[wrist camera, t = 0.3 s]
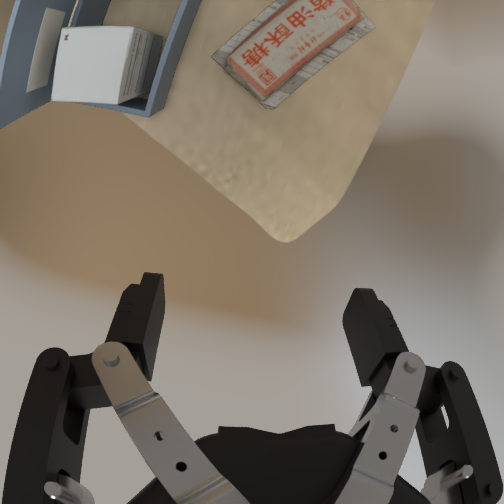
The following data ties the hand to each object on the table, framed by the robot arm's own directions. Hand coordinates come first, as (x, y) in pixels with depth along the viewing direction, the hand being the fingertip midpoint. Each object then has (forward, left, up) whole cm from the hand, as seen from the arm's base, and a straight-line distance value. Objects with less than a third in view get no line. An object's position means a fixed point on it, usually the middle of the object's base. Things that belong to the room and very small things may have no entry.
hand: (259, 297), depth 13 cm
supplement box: (-6, -16, -29) cm, 34 cm away
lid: (-9, -22, -16) cm, 28 cm away
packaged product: (-14, +1, -30) cm, 33 cm away
